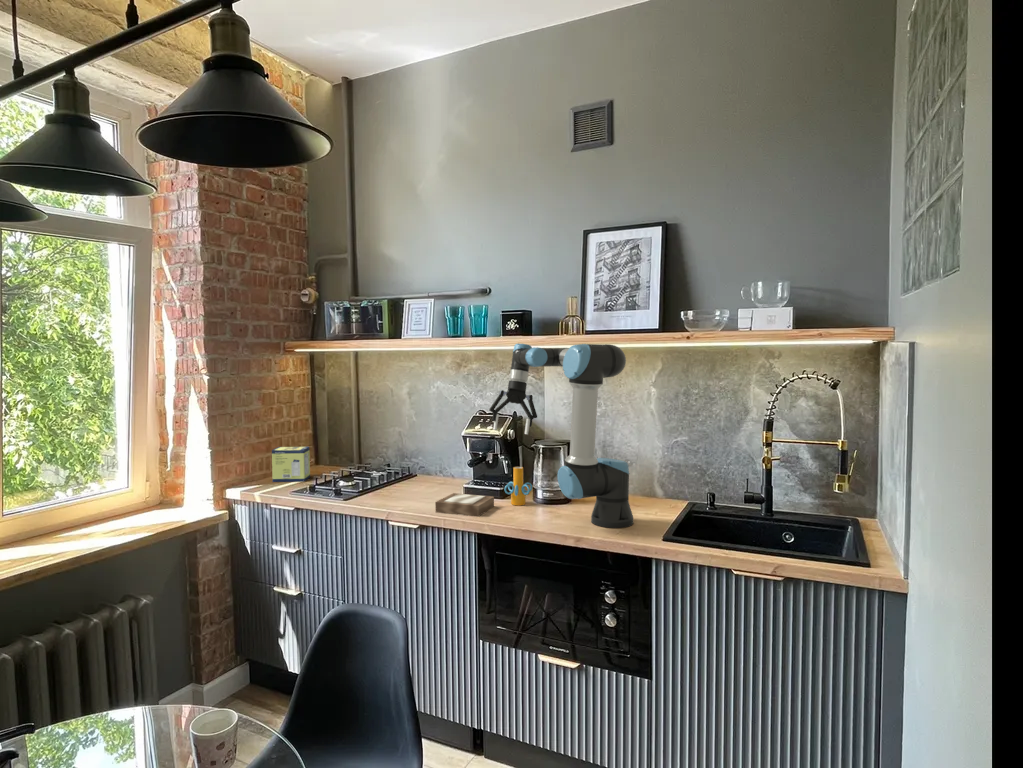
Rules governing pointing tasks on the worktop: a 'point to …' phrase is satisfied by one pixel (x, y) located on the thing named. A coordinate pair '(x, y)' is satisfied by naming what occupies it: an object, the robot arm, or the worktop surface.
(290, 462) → the protein box
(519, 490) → the cylinder
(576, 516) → the worktop surface
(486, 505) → the pedestal
